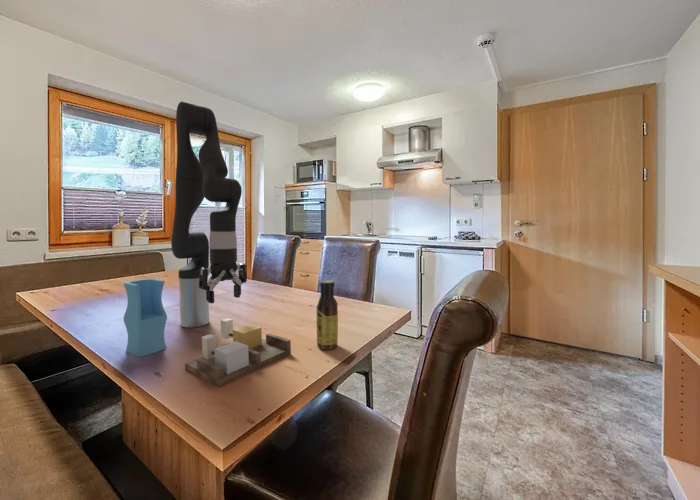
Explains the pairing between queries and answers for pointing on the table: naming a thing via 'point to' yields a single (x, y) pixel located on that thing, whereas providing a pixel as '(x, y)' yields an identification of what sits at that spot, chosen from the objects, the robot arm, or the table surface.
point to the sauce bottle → (327, 317)
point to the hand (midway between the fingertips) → (224, 300)
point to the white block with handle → (225, 354)
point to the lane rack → (258, 358)
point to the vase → (145, 317)
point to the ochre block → (241, 333)
